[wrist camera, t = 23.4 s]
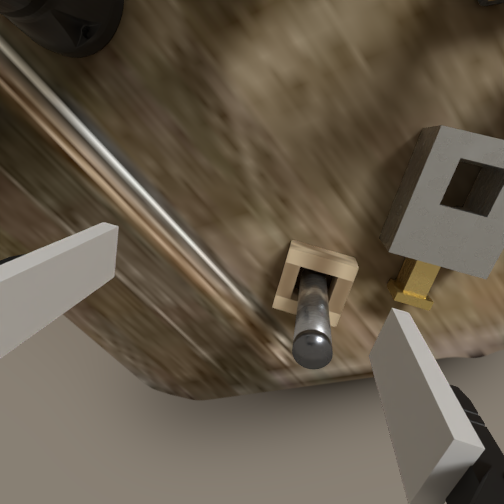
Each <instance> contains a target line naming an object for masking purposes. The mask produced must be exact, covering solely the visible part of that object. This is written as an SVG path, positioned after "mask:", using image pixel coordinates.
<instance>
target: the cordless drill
mask: <svg viewBox="0 0 504 504" xmlns="http://www.w3.org/2000/svg"><path fill="white" fill-rule="evenodd" d="M477 1H478V2H479V4H480V5H481V6H488V5H493V4H498V3H503V2H504V0H477Z"/></svg>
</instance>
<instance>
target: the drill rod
mask: <svg viewBox="0 0 504 504" xmlns="http://www.w3.org/2000/svg"><path fill="white" fill-rule="evenodd" d="M292 353H293V357H294V359H295V360H296V362H297V363H298V364H300V365H301V366H303V367H305V368H308V369H320V368H323V367H325V366H326V365H327V364H328V363H329V362H330V361H331V359H332V341H331V329H330V317H329V305H328V293H327V281H326V274H325V273H321V272H318V271H314V270H311V269H308V268H305V269H304V270H303V271H302V273H301V278H300V287H299V296H298V305H297V313H296V322H295V331H294V340H293V349H292Z"/></svg>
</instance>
